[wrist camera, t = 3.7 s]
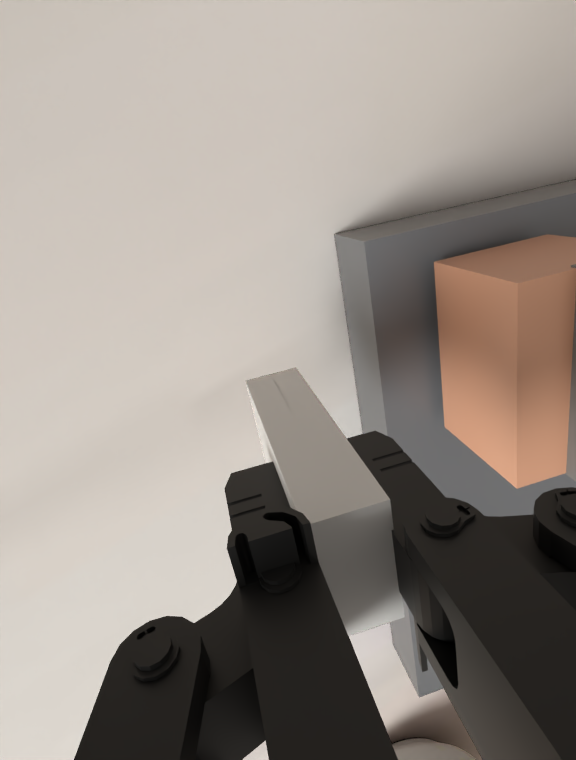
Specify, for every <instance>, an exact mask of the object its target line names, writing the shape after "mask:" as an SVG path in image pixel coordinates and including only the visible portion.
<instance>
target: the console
mask: <svg viewBox="0 0 576 760" xmlns="http://www.w3.org/2000/svg"><path fill="white" fill-rule="evenodd" d="M546 234H549V235H558V236H567V237H576V179H575V180H571V181H566V182H562V183H558V184H553V185H549V186H544V187H540V188H536V189H531V190H527V191H522V192H518V193H514V194H509V195H505V196H500V197H496V198H492V199H487V200H483V201H478V202H474V203H469V204H465V205H461V206H456V207H452V208H447V209H443V210H439V211H434V212H430V213H425V214H421V215H417V216H412V217H408V218H403V219H399V220H395V221H390V222H386V223H381V224H377V225H373V226H368V227H364V228H359V229H355V230H351V231H346V232H342V233H337V234H334V236H335V243H336V250H337V257H338V264H339V271H340V278H341V285H342V292H343V299H344V306H345V313H346V320H347V327H348V334H349V341H350V348H351V354H352V361H353V368H354V375H355V382H356V389H357V396H358V403H359V410H360V417H361V424H362V431H363V434H365V433H368V432H372V431H377V432H380V433H382V434H384V435H386V436H389V437H391V438H393V439H394V441H395V442H396V443H397V444H398V445H399V446H400V447H401V448H402V449H403V452H404V453H406V454H407V455H408V456H409V457H410V458H411V459H412V462H414V463H415V464H416V465H417V466H418V467H419V468H420V469H421V470H422V472H423V473H424V474H425V475H426V476H427V477H428V478H429V479H430V480H431V481H432V483H433V484H434V485H435V486H436V487H437V488H438V489H439V490H440V491H441V493H442V494H443V495H444V496H445V497H447V498H455V499H458V500H461V501H464V502H467V503H469V504H470V505H472V506H473V507H475V508H476V509H477V510H479V511H480V512H481V513H482V514H483V515H484V516H499V517H502V516H518V515H533V513H534V504H535V500H536V499H537V498H538V497H539V496H540V495H541V494H542V493H544V492H547V491H550V490H553V489H555V488H568V487H574V488H576V481H574V480H573V479H572V478H570V477H569V476H567V475H566V474H562V475H558V476H555V477H552V478H549V479H546V480H543V481H540V482H536V483H533V484H530V485H527V486H524V487H521V488H518V489H517V488H515V487H514V486H513V485H512V484H511V483H509V482H508V481H507V480H506V479H505V478H504V477H502V476H501V475H500V474H499V473H498V472H497V471H495V470H494V469H493V468H492V467H491V466H490V465H488V464H487V463H486V462H485V461H484V460H483V459H481V458H480V457H479V456H478V455H477V454H476V453H474V452H473V451H472V450H471V449H470V448H469V447H467V446H466V445H465V444H464V443H463V442H462V441H460V440H459V439H458V438H457V437H456V436H455V435H453V434H452V433H451V432H450V431H449V430H447V429H446V428H445V426H444V411H443V396H442V380H441V365H440V349H439V334H438V318H437V303H436V288H435V272H434V262H435V261H439V260H443V259H447V258H451V257H455V256H459V255H464V254H468V253H472V252H476V251H480V250H484V249H488V248H493V247H497V246H501V245H505V244H509V243H513V242H517V241H521V240H526V239H530V238H534V237H538V236H542V235H546ZM402 599H403V597H402ZM403 607H404V615H405V617H404V618H401V619H398V620H395V621H392V622H390V626H391V633H392V640H393V645H394V648H395V650H396V652H397V654H398V656H399V658H400V660H401V662H402V664H403V666H404V668H405V670H406V672H407V674H408V676H409V678H410V680H411V682H412V684H413V686H414V688H415V690H416V692H417V694H418V696H419V697H422V696H424V695H427V694H430V693H432V692H435V691H438V690H440V689H443V686H442V684H441V682H440V681H439V679H438V677H437V675H436V673H435V671H434V670H433V668H432V666H431V664H430V662H429V661H428V659H427V665H428V670H427V671H425V672H422V670H421V666H420V663H419V659H418V650H417V641H416V633H415V624H414V616H413V615H412V613H411V611H410V609H409V608H408V606H407V604H406V602H405V601H404V599H403Z"/></svg>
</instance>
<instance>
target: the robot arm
mask: <svg viewBox="0 0 576 760" xmlns="http://www.w3.org/2000/svg"><path fill="white" fill-rule="evenodd" d="M246 385H247V389H248V393H249V397H250V401H251V406H252V410H253V414H254V418H255V422H256V426H257V430H258V434H259V439H260V443H261V447H262V451H263V455H264V459H265V463H266V464H262V465H259V466H255V467H252V468H248V469H245V470H241V471H238V472H234V473H231V475H230V478H229V480H228V482H227V484H226V487H225V493H226V499H227V504H228V510H229V516H230V521H231V527H232V531H231V533H230V535H229V536H228V544H227V550H228V553H229V556H230V560H231V563H232V566H233V570H234V573H235V576H236V579H237V583H236V586H235V588H234V589H233V591H232V593H231V594H230V596H229V597H228V598H227V599H226V600H225V601H224V602H223V604H222V605H220V606H219V607H218V608H216V609H215V610H214V611H212V612H211V613H210V614H208V615H207V616H205V617H203V618H202V619H200V620H199V621H197V622H196V623H192V622H190V621H189V620H187V619H185V618H183V617H175V616H165V617H162V618H158V619H155V620H151V621H149V622H147V623H146V624H144V625H143V626H141V627H139V628H138V629H136V630H134V631H133V632H132V633H131V634H130V635H129V636H128V637H127V638H126V639H125V640H124V641H123V642H122V643H121V644H120V646H119V647H118V649H117V651H116V653H115V655H114V656H113V658H112V660H111V662H110V664H109V667H108V670H107V672H106V675H105V678H104V681H103V683H102V686H101V689H100V691H99V694H98V697H97V699H96V702H95V705H94V707H93V710H92V713H91V715H90V718H89V721H88V723H87V726H86V729H85V732H84V734H83V737H82V740H81V742H80V745H79V748H78V750H77V753H76V756H75V758H74V760H242V759H243V758H244V757H246V756H247V755H248V754H249V753H251V752H252V751H253V750H254V749H255V748H257V747H258V746H259V745H260V744H262V743H263V742H264V741H265V740H266V745H267V750H268V756H269V760H398V758H397V756H396V753H395V751H394V748H393V746H392V743H391V741H390V738H389V736H388V733H387V731H386V728H385V726H384V723H383V721H382V718H381V716H380V713H379V711H378V708H377V706H376V703H375V701H374V698H373V696H372V693H371V691H370V689H369V686H368V684H367V681H366V679H365V676H364V674H363V671H362V669H361V666H360V664H359V661H358V659H357V656H356V654H355V651H354V649H353V646H352V644H351V641H350V639H349V636H351V635H354V634H357V633H360V632H363V631H366V630H369V629H372V628H375V627H378V626H380V625H383V624H386V623H389V622H392V621H395V620H398V619H401V618H404V617H405V615H404V607H403V599H404V601H405V602H406V604H407V606H408V608H409V609H410V611H411V613H412V615H413V616H414V624H415V633H416V641H417V650H418V659H419V663H420V666H421V670H422V672H425V671H427V670H428V665H427V659H428V661H429V662H430V664H431V666H432V668H433V670H434V671H435V673H436V675H437V677H438V679H439V681H440V682H441V684H442V686H443V688H444V690H445V692H446V693H447V695H448V697H449V699H450V701H451V703H452V704H453V706H454V708H455V710H456V712H457V714H458V715H459V717H460V719H461V721H462V723H463V725H464V726H465V728H466V730H467V732H468V734H469V736H470V737H471V739H472V741H473V743H474V745H475V747H476V748H477V750H478V752H479V754H480V756H481V757H482V759H483V760H576V488H574V487H568V488H555V489H553V490H550V491H547V492H544V493H542V494H541V495H540V496H539V497H538V498H537V499H536V500H535V504H534V513H533V515H518V516H502V517H499V516H484V515H483V514H482V513H481V512H480V511H479V510H477V509H476V508H475V507H473V506H472V505H470V504H469V503H467V502H464V501H461V500H458V499H455V498H447V497H445V496H444V495H443V494H442V493H441V491H440V490H439V489H438V488H437V487H436V486H435V485H434V484H433V483H432V481H431V480H430V479H429V478H428V477H427V476H426V475H425V474H424V473H423V472H422V470H421V469H420V468H419V467H418V466H417V465H416V464H415V463H414V462H412V459H411V458H410V457H409V456H408V455H407V454H406V453H404V452H403V449H402V448H401V447H400V446H399V445H398V444H397V443H396V442H395V441H394V439H393V438H391V437H389V436H386V435H384V434H382V433H380V432H377V431H372V432H368V433H365V434H361V435H358V436H354V437H351V438H346V437H345V436H344V434H343V433H342V431H341V430H340V429H339V427H338V426H337V424H336V423H335V422H334V420H333V419H332V417H331V416H330V415H329V413H328V412H327V410H326V409H325V408H324V406H323V405H322V403H321V402H320V401H319V399H318V398H317V396H316V395H315V394H314V392H313V391H312V389H311V388H310V387H309V385H308V384H307V382H306V381H305V380H304V378H303V377H302V375H301V374H300V373H299V371H298V370H297V368H292V369H288V370H285V371H281V372H277V373H273V374H269V375H265V376H262V377H258V378H254V379H250V380H246ZM402 597H403V599H402Z"/></svg>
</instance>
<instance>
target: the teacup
mask: <svg viewBox="0 0 576 760" xmlns="http://www.w3.org/2000/svg"><path fill="white" fill-rule="evenodd" d="M392 746H393V748H394V751H395V753H396V756H397V758H398V760H476V759H475V758H474V757H473V756H472V755H470V754H469V753H468V752H466V751H465V750H463V749H461V748H459V747H456V746H454V745H451V744H446V743H439V742H436V741H434V740H430V739H424V738H414V739H406V740H403V741H399V742H396V743H393V744H392Z"/></svg>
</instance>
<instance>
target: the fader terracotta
mask: <svg viewBox="0 0 576 760" xmlns="http://www.w3.org/2000/svg"><path fill="white" fill-rule="evenodd" d="M434 272H435V288H436V303H437V318H438V334H439V349H440V365H441V380H442V396H443V411H444V426H445V428H446V429H447V430H449V431H450V432H451V433H452V434H453V435H455V436H456V437H457V438H458V439H459V440H460V441H462V442H463V443H464V444H465V445H466V446H467V447H469V448H470V449H471V450H472V451H473V452H474V453H476V454H477V455H478V456H479V457H480V458H481V459H483V460H484V461H485V462H486V463H487V464H488V465H490V466H491V467H492V468H493V469H494V470H495V471H497V472H498V473H499V474H500V475H501V476H502V477H504V478H505V479H506V480H507V481H508V482H509V483H511V484H512V485H513V486H514V487H515V488H517V489H518V488H521V487H524V486H527V485H530V484H533V483H536V482H540V481H543V480H546V479H549V478H552V477H555V476H558V475H562V474H566V475H567V476H569V477H570V478H572V479H573V480H574V481H576V237H567V236H558V235H549V234H546V235H542V236H538V237H534V238H530V239H526V240H521V241H517V242H513V243H509V244H505V245H501V246H497V247H493V248H488V249H484V250H480V251H476V252H472V253H468V254H464V255H459V256H455V257H451V258H447V259H443V260H439V261H435V262H434Z"/></svg>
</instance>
